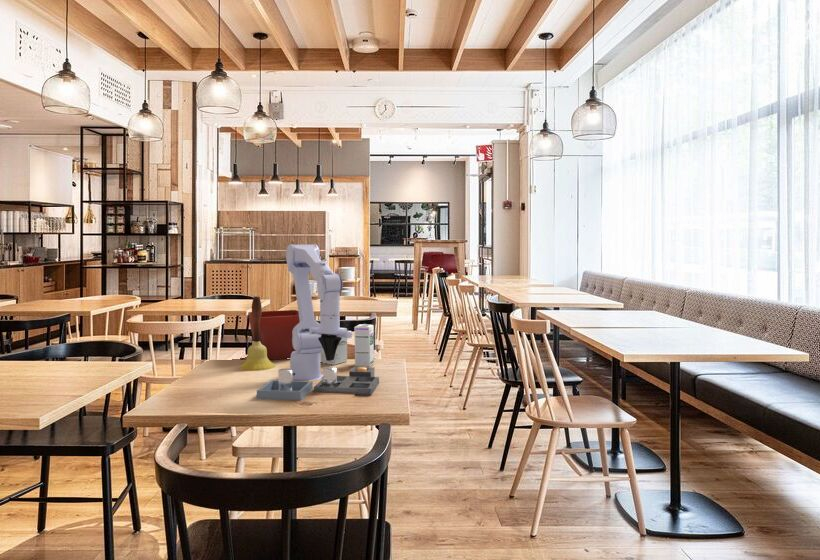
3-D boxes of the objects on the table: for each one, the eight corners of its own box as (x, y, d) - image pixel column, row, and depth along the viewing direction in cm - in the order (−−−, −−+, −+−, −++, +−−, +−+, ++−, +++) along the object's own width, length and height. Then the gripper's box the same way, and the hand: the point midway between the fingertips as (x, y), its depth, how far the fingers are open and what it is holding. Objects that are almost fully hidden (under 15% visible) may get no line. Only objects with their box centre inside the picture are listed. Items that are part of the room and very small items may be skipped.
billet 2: (322, 392, 179) (321, 369, 179) (325, 389, 183) (325, 366, 183) (335, 393, 179) (335, 369, 178) (338, 389, 183) (338, 366, 182)
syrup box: (370, 367, 215) (370, 326, 214) (354, 366, 216) (354, 326, 215) (374, 363, 220) (374, 324, 219) (358, 363, 222) (358, 323, 221)
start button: (356, 378, 196) (356, 369, 195) (358, 375, 199) (358, 366, 199) (366, 378, 195) (365, 369, 195) (367, 376, 198) (367, 367, 198)
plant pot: (248, 353, 238) (247, 311, 237) (296, 350, 245) (296, 309, 244) (256, 363, 220) (255, 317, 219) (307, 359, 228) (307, 315, 227)
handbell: (278, 363, 220) (277, 295, 219) (271, 370, 208) (270, 298, 206) (244, 363, 220) (243, 295, 218) (235, 370, 208) (234, 298, 206)
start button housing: (349, 380, 194) (349, 371, 194) (353, 375, 201) (353, 367, 201) (370, 381, 193) (370, 372, 193) (374, 376, 200) (374, 367, 200)
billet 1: (276, 395, 173) (276, 371, 173) (281, 391, 177) (280, 368, 177) (290, 395, 173) (290, 371, 172) (294, 392, 177) (294, 368, 176)
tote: (256, 401, 170) (256, 390, 169) (271, 389, 182) (271, 380, 182) (300, 402, 168) (300, 391, 168) (312, 391, 181) (312, 381, 181)
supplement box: (335, 365, 217) (335, 330, 216) (319, 363, 221) (319, 328, 220) (347, 361, 224) (347, 328, 223) (332, 359, 228) (332, 326, 227)
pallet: (314, 393, 178) (314, 386, 178) (326, 381, 193) (326, 375, 193) (371, 395, 176) (371, 388, 176) (379, 383, 191) (379, 377, 191)
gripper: (357, 315, 179) (357, 360, 180) (319, 311, 186) (319, 355, 187) (343, 317, 173) (343, 364, 174) (304, 314, 180) (304, 359, 181)
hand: (330, 360), depth 180 cm, fingers closed
